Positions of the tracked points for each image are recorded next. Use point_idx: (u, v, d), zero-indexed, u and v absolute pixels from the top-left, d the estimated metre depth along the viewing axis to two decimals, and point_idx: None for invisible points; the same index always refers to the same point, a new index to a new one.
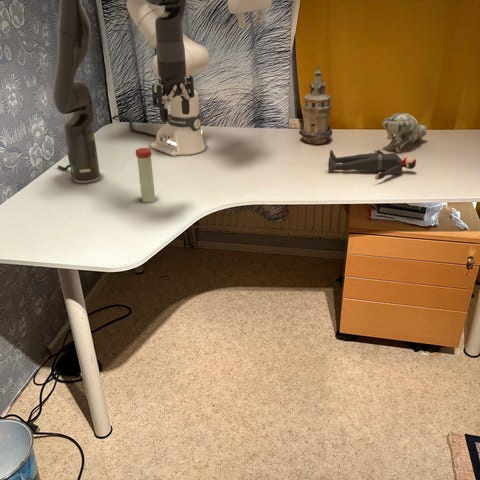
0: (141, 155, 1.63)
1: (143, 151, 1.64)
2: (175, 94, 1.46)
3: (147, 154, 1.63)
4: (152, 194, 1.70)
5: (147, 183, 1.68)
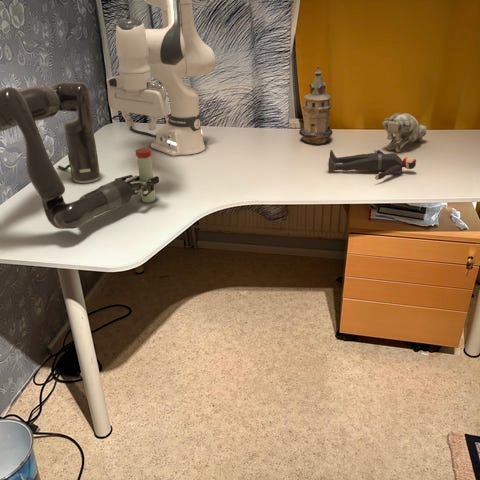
0: (141, 155, 1.63)
1: (143, 151, 1.64)
2: None
3: (147, 154, 1.63)
4: (152, 194, 1.70)
5: None
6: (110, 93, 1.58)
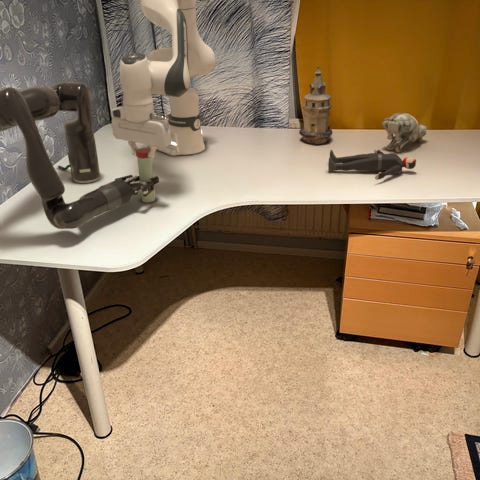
0: (141, 155, 1.63)
1: (143, 151, 1.64)
2: None
3: (147, 154, 1.63)
4: (152, 194, 1.70)
5: None
6: (114, 123, 1.62)
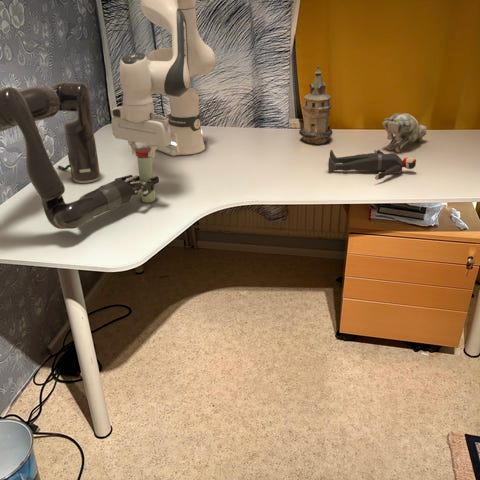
0: None
1: (146, 150, 1.64)
2: None
3: None
4: (152, 194, 1.70)
5: None
6: (114, 123, 1.62)
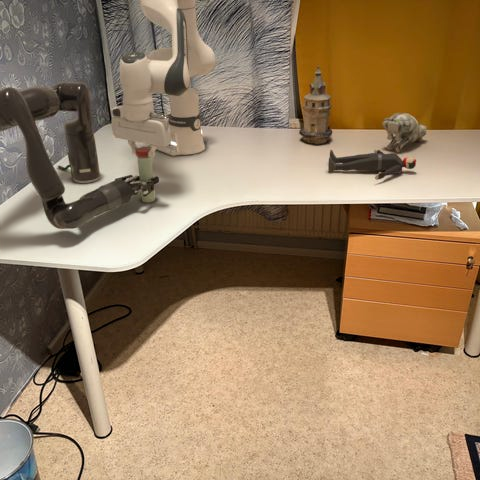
0: None
1: (145, 148, 1.65)
2: None
3: None
4: (152, 194, 1.70)
5: None
6: (114, 122, 1.62)
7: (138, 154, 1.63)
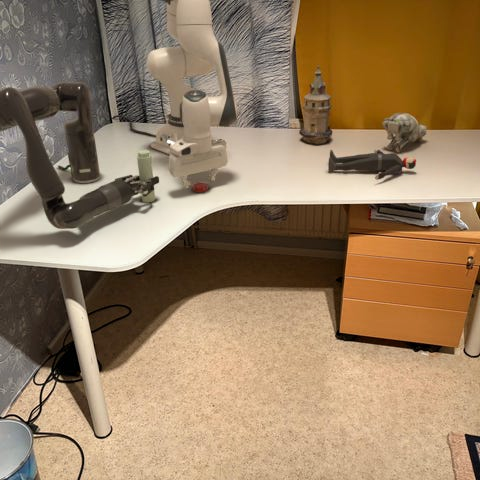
0: None
1: (199, 184, 1.79)
2: None
3: None
4: (152, 194, 1.70)
5: None
6: (178, 163, 1.68)
7: (203, 189, 1.77)
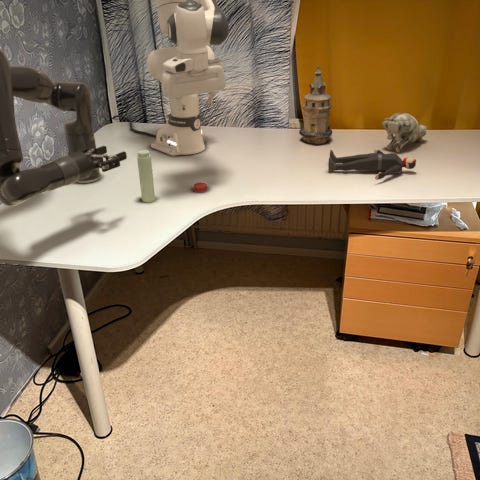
0: None
1: (199, 184, 1.79)
2: None
3: None
4: (152, 194, 1.70)
5: (147, 183, 1.68)
6: (172, 80, 1.55)
7: (203, 189, 1.77)
